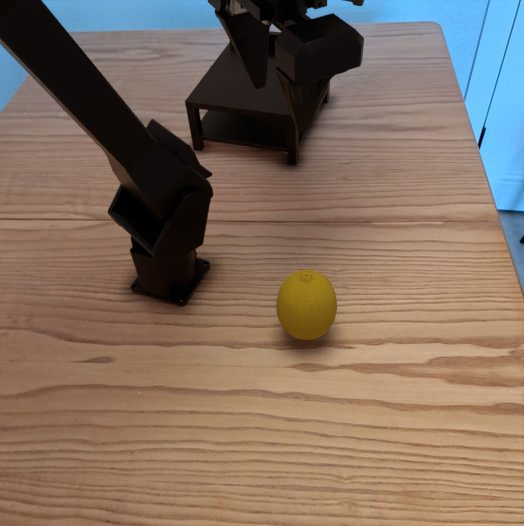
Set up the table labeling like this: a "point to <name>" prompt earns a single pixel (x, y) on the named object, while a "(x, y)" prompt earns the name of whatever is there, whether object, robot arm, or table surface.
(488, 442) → the table surface
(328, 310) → the lemon
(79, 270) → the table surface
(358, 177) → the table surface
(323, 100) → the dark coffee table
